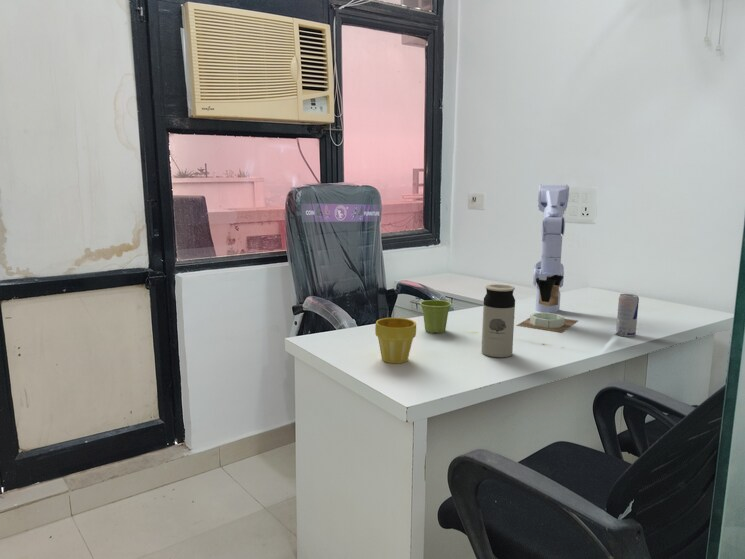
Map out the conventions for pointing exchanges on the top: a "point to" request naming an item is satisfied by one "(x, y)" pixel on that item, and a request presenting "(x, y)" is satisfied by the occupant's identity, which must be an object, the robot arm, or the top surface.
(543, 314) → the octagonal green bowl
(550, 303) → the brown wooden block
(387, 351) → the plant pot
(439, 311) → the plant pot
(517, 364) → the top surface
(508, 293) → the travel mug
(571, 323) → the walnut board
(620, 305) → the energy drink
